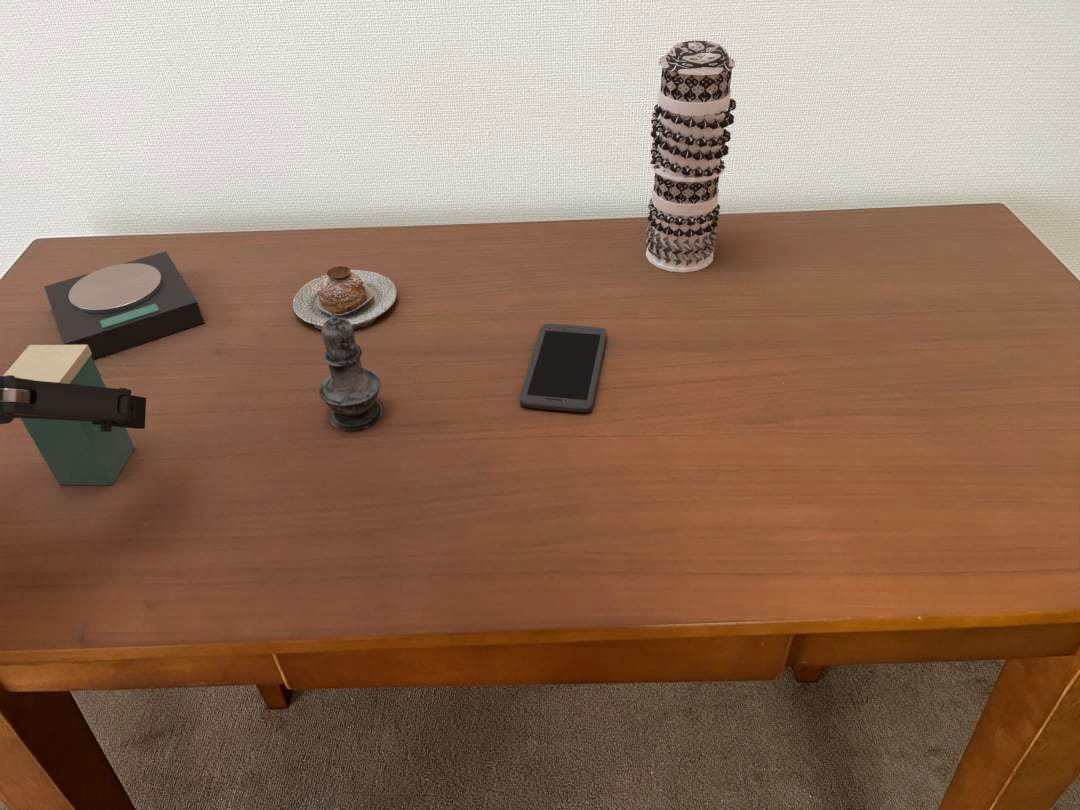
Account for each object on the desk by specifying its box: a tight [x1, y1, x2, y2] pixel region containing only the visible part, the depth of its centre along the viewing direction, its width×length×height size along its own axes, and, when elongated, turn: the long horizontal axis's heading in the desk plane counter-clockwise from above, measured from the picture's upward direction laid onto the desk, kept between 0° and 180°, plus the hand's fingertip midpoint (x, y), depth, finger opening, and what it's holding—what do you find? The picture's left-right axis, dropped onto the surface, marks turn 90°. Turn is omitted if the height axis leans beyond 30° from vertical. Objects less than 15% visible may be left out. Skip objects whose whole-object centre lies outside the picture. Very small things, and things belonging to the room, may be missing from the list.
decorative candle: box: [645, 40, 737, 274], centre depth 95 cm, size 9×9×25 cm
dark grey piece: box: [318, 312, 384, 433], centre depth 77 cm, size 6×6×12 cm
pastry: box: [292, 265, 398, 331], centre depth 95 cm, size 12×12×5 cm
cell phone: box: [519, 323, 607, 414], centre depth 85 cm, size 7×14×1 cm, turn 170°
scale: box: [43, 250, 205, 361], centre depth 95 cm, size 14×14×3 cm
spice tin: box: [2, 344, 136, 486], centre depth 73 cm, size 5×5×12 cm
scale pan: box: [69, 263, 162, 314], centre depth 95 cm, size 10×10×1 cm
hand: (65, 413), depth 72 cm, fingers open, 13 cm apart
